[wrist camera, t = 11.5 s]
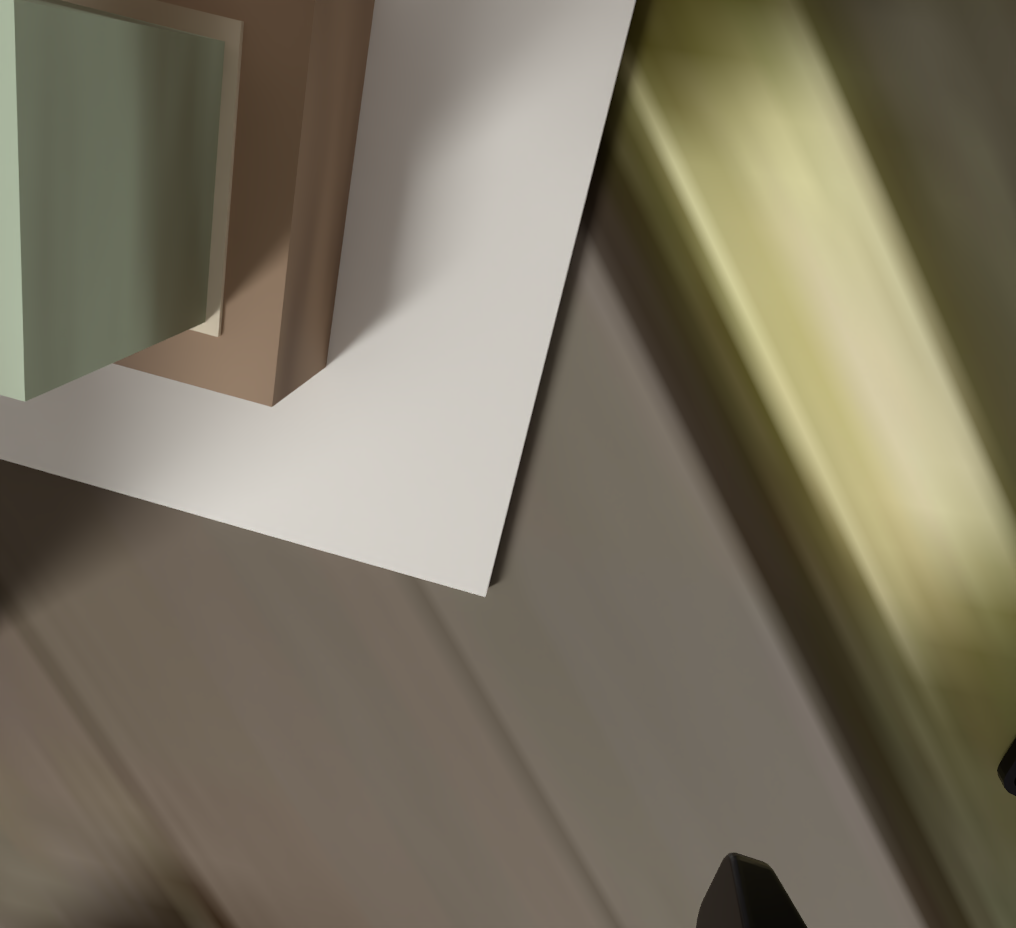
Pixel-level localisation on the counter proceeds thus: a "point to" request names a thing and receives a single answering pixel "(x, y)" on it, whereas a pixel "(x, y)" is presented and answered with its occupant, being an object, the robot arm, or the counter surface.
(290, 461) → the board
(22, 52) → the sage block
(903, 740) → the counter surface
